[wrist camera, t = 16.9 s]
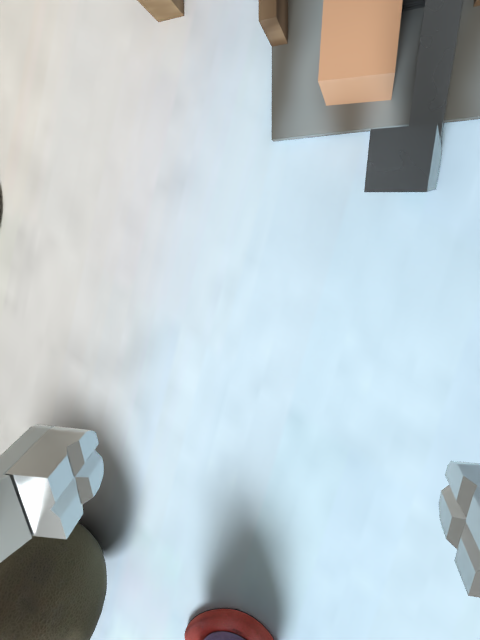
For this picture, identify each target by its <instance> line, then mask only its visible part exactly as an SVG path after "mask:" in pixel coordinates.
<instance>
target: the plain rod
mask: <svg viewBox="0 0 480 640" xmlns="http://www.w3.org/2000/svg"><path fill="white" fill-rule="evenodd" d="M138 1H139V2H140V3H141V5H142V6H143V7H144V8H145V9H146V10H147V11H148V12H149V13H150V14H151V15H152V16H153V17H154V18H155V19H156V20H157V21H158V22H161V21H165V20H169V19H173V18H177V17H181V16H184V3H183V0H138Z"/></svg>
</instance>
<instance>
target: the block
mask: <svg viewBox="0 0 480 640" xmlns="http://www.w3.org/2000/svg"><path fill="white" fill-rule="evenodd" d="M402 2H403V0H323V14H322V29H321V44H320V59H319V74H318V83H319V86H320V88H321V91H322V94H323V97H324V100H325V103H326V106H328V105H340V104H351V103H362V102H374V101H385V100H391V98H392V91H393V84H394V76H395V68H396V58H397V49H398V40H399V30H400V21H401V12H402Z"/></svg>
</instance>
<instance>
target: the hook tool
mask: <svg viewBox="0 0 480 640" xmlns="http://www.w3.org/2000/svg"><path fill="white" fill-rule="evenodd" d="M463 1H464V0H403V2H402V12H403V11H408V10H413V9H418V8H423V7H425V8H424V15H423V23H422V30H421V38H420V45H419V52H418V60H417V67H416V75H415V82H414V90H413V97H412V105H411V112H410V120H409V126H405V127H392V128H379V129H371V131H370V141H369V151H368V161H367V171H366V180H365V190H364V192H428V191H432V190H435V189H436V187H437V180H438V174H439V168H440V162H441V156H442V148H441V136H442V130H443V124H444V118H445V112H446V106H447V100H448V93H449V87H450V81H451V75H452V69H453V63H454V56H455V50H456V44H457V38H458V32H459V26H460V19H461V13H462V7H463Z"/></svg>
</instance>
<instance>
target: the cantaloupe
mask: <svg viewBox="0 0 480 640" xmlns="http://www.w3.org/2000/svg"><path fill="white" fill-rule="evenodd" d="M106 587H107V575H106V564H105V559H104V556H103V552H102V549H101V547H100V545H99V543H98V542H97V540H96V539H95V538H94V536H93V535H92V534H91V533H90V532H89V531H88V530H87V529H86V528H85V527H84V526H82V525H81V524H79V523H77V524H76V526H75V527H74V529H73V530H72V532H71V534H70V535H69V537H68V538H67V539H57V538H48V537H38V536H32V539H30V540H29V541H28V542H26V543H25V544H24V545H22V546H21V547H20V548H19V549H17V550H16V551H15V552H13V553H12V554H11V555H10V556H8V557H7V558H6V559H4V560H3V561H2V562H1V563H0V640H90V638H91V636H92V634H93V632H94V630H95V627H96V625H97V622H98V620H99V617H100V615H101V612H102V608H103V604H104V600H105V595H106Z"/></svg>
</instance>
